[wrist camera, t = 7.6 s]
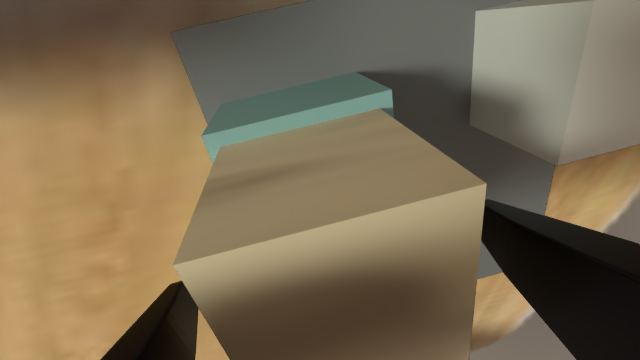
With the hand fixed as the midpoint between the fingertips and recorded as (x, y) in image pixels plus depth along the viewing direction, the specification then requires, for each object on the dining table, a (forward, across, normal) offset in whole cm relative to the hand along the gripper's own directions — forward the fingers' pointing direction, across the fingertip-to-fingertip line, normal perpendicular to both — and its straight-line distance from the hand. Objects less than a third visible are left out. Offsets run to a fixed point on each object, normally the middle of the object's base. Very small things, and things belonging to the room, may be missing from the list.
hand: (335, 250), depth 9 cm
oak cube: (+4, 0, 0) cm, 4 cm away
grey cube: (+9, -13, -2) cm, 16 cm away
